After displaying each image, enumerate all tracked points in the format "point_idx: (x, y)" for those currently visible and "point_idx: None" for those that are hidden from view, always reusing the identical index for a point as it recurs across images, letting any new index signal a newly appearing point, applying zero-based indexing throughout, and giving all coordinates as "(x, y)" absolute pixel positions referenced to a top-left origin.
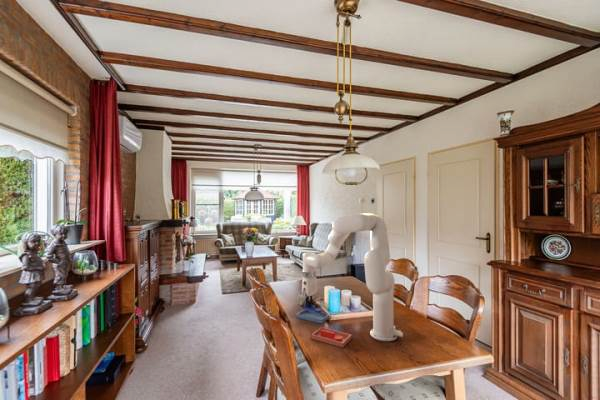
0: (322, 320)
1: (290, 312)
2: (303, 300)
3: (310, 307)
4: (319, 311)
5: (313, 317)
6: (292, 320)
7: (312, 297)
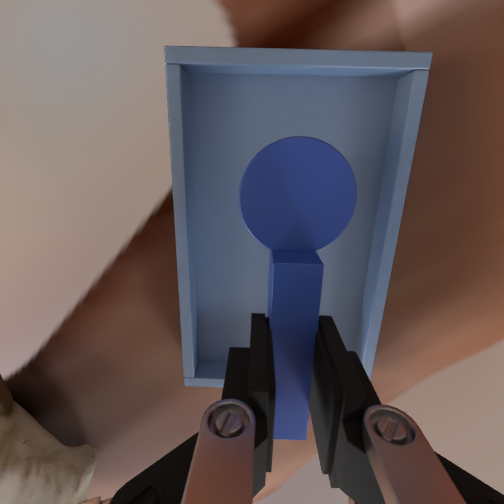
0: (406, 55)
1: (274, 451)
2: (65, 488)
3: (326, 315)
4: (332, 148)
5: None
6: (434, 366)
7: (245, 442)
